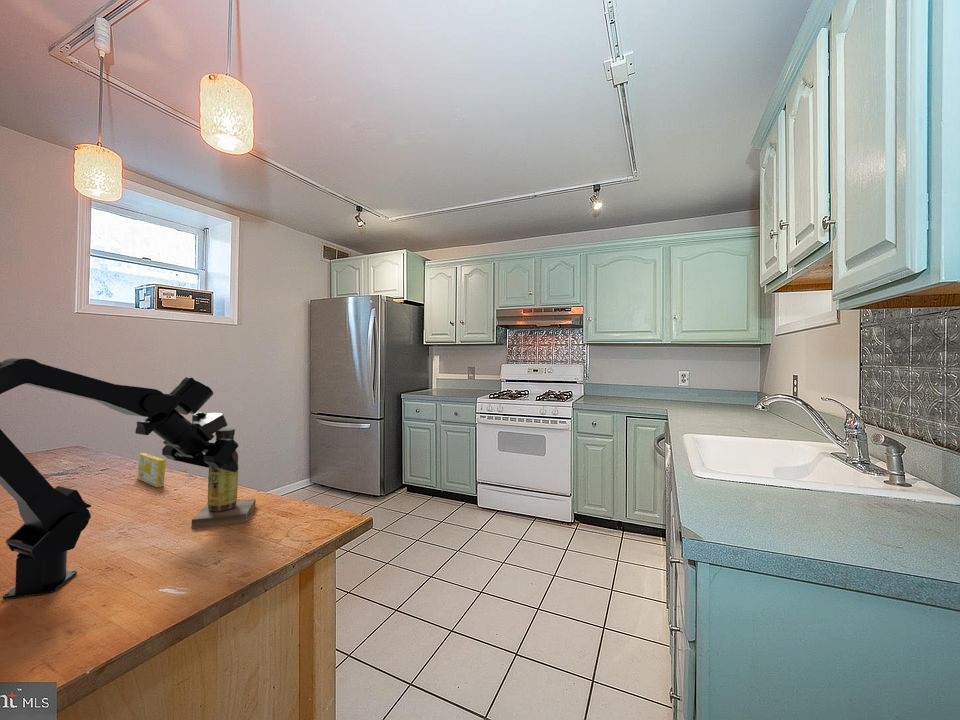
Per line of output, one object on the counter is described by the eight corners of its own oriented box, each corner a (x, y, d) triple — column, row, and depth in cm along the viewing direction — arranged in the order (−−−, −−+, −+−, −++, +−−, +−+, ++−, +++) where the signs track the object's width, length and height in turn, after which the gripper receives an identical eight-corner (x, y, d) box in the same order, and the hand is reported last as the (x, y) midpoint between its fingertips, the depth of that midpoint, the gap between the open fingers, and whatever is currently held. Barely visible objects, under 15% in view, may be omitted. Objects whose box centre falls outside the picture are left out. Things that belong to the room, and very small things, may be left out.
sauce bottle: (204, 507, 97) (206, 428, 97) (233, 501, 102) (234, 425, 102) (211, 515, 93) (213, 432, 93) (240, 508, 97) (242, 429, 97)
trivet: (245, 522, 94) (245, 514, 94) (191, 528, 90) (191, 519, 90) (255, 506, 104) (255, 498, 104) (207, 510, 101) (207, 503, 101)
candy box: (165, 486, 119) (166, 459, 119) (156, 488, 117) (157, 460, 117) (144, 477, 128) (145, 452, 128) (136, 479, 126) (137, 453, 126)
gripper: (231, 404, 88) (271, 444, 99) (177, 400, 95) (220, 438, 105) (194, 446, 81) (242, 484, 91) (138, 438, 88) (188, 474, 98)
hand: (223, 468), depth 96 cm, fingers open, 9 cm apart
